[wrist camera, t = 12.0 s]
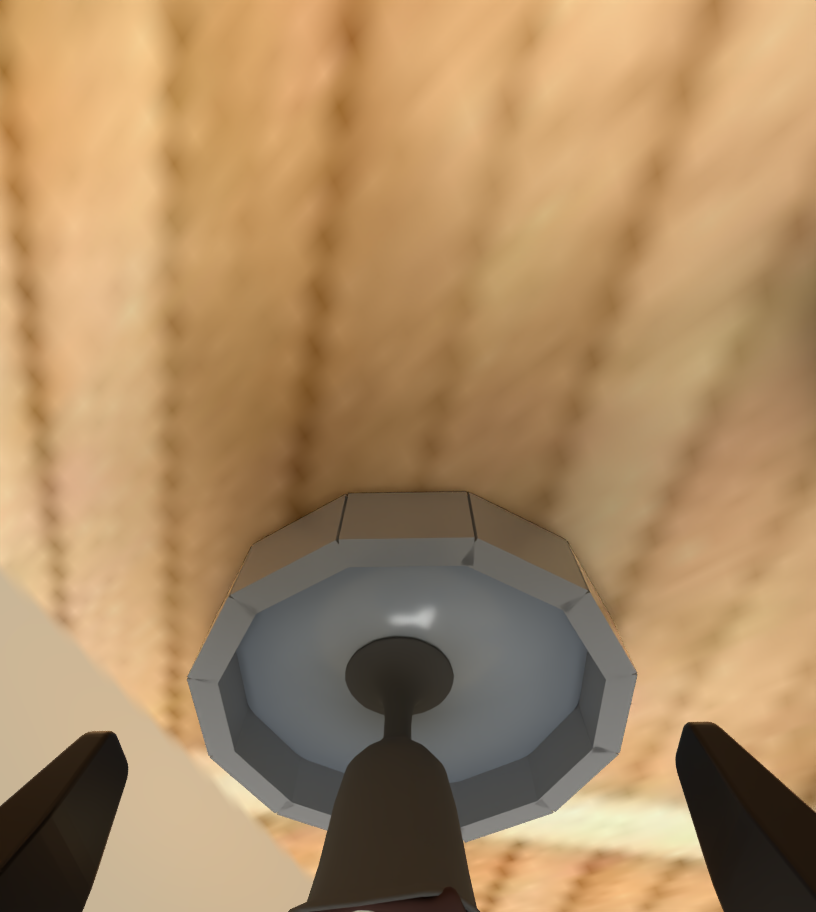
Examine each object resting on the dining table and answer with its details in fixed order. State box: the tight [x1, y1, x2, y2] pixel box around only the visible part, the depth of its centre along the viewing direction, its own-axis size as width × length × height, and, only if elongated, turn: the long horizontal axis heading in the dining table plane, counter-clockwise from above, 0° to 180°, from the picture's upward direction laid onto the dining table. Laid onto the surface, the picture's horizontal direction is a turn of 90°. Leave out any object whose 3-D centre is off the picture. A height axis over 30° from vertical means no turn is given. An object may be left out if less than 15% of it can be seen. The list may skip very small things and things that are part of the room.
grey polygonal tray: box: [187, 491, 637, 842], centre depth 24 cm, size 18×18×3 cm
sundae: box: [288, 637, 480, 912], centre depth 18 cm, size 7×7×15 cm
